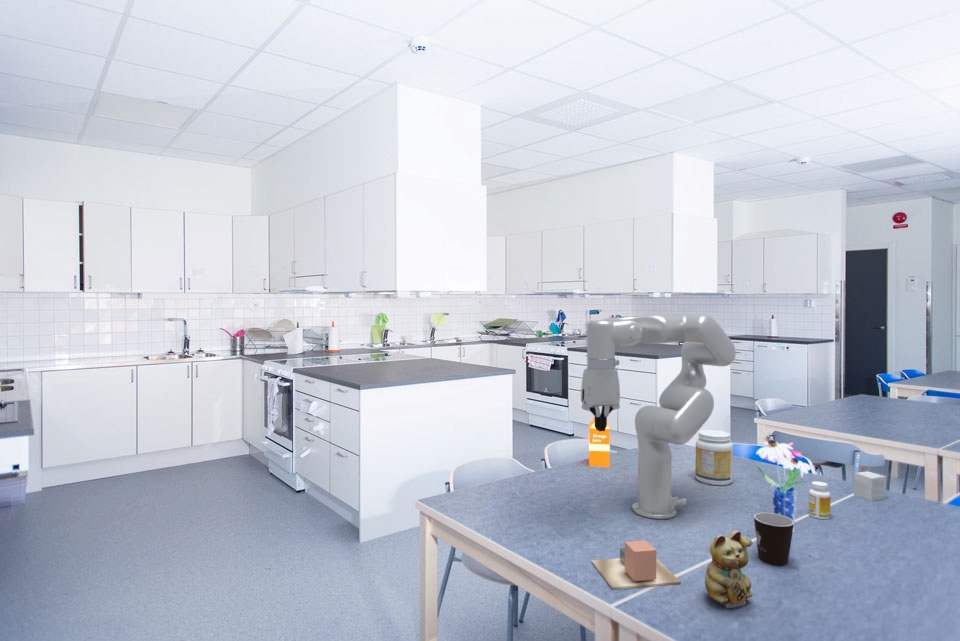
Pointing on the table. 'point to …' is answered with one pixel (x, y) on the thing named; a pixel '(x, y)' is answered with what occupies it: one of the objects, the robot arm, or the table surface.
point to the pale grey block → (869, 485)
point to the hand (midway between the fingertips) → (600, 430)
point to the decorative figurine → (728, 570)
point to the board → (620, 579)
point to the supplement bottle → (819, 500)
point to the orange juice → (599, 445)
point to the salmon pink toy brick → (640, 560)
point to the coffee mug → (773, 538)
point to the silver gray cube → (622, 555)
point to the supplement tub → (714, 457)
